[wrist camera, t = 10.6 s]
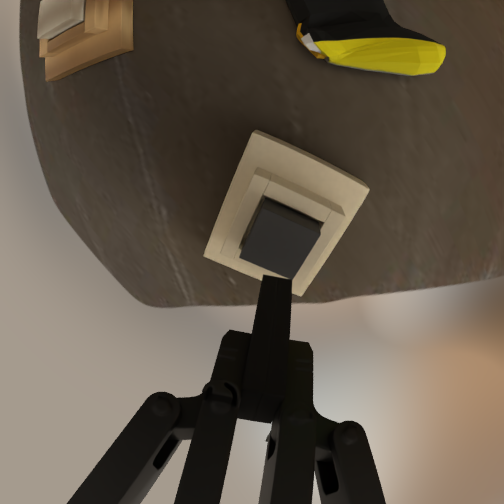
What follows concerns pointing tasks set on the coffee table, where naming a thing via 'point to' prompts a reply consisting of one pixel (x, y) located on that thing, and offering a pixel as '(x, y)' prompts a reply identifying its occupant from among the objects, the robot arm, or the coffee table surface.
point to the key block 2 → (284, 203)
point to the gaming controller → (363, 37)
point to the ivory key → (59, 17)
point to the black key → (280, 239)
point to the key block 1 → (90, 39)
